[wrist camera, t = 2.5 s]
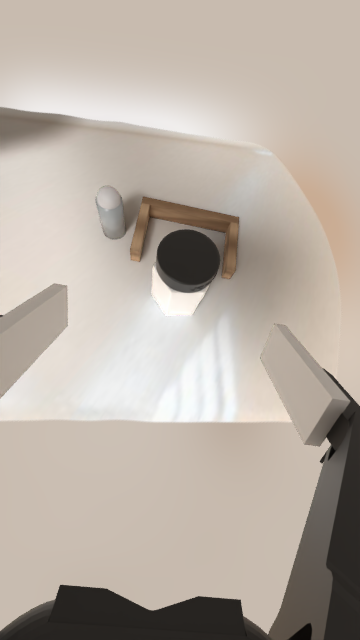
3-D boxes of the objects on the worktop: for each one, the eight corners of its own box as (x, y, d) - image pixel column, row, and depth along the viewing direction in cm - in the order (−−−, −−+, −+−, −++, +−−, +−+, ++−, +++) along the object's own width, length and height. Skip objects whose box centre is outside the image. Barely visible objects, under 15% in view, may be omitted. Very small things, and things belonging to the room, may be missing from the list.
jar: (187, 327, 40) (204, 299, 29) (144, 305, 40) (143, 268, 29) (208, 285, 43) (231, 244, 32) (168, 264, 43) (176, 216, 32)
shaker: (101, 222, 44) (90, 180, 35) (122, 219, 45) (117, 177, 36) (105, 241, 43) (95, 202, 34) (127, 237, 44) (123, 198, 35)
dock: (229, 279, 44) (235, 270, 41) (131, 260, 42) (130, 250, 39) (233, 228, 48) (239, 217, 45) (143, 208, 46) (143, 196, 43)
